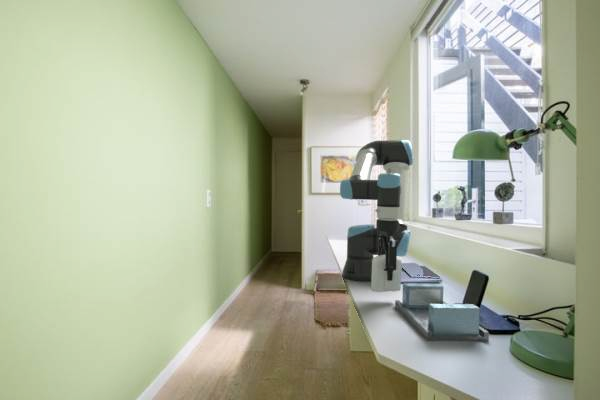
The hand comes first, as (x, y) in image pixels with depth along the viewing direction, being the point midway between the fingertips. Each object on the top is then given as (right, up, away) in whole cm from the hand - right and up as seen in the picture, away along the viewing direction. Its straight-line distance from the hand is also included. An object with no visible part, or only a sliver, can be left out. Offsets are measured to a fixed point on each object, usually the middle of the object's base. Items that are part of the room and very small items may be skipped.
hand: (385, 286), depth 110 cm
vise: (+10, -6, -16) cm, 20 cm away
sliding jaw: (+10, -5, -7) cm, 13 cm away
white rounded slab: (0, -2, 0) cm, 2 cm away
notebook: (+28, -6, +45) cm, 53 cm away
